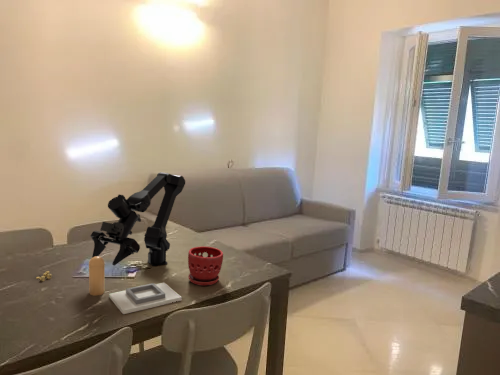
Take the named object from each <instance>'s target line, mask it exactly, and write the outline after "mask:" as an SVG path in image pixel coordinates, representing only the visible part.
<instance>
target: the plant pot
mask: <svg viewBox="0 0 500 375" xmlns="http://www.w3.org/2000/svg"><path fill="white" fill-rule="evenodd" d="M204 253H206V254H207V256H206V257H205V256H203V254H204ZM187 255H188V256H187V265H188V270H189V274H188V280H189V281H190V282H191V283H192V284H195V285H197V286H203V287H204V286H211V285H215V284H216V283H217V282H218V281H219V279H220V276H219V274H220V272H221V270H222V266H223V260H224V252H223V251H222V250H221V249H220V248H216V247H212V246H195V247H192V248H190V249H189V250H188V254H187Z"/></svg>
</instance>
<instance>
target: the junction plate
mask: <svg viewBox="0 0 500 375" xmlns="http://www.w3.org/2000/svg"><path fill="white" fill-rule="evenodd" d="M108 295H109V299H110V300H111V301H112V302H113V303H114V305H115V306H116V308H117V309H118V310H119V311H120V312H121V313H122V315H125V314H129V313H134V312H138V311H143V310H147V309H151V308H156V307H159V306H163V305H164V306H165V305H169V304H172V302H173V303H176V301H177V302H180V301H182V296H181V295H180V294H178V293H177V292H176V291H175V290H174V289H172V288H171V287H170V286H169V285H168V284H167V283H166V282H160V283H154V282H151V283H147V284H142V285H138V286H133V287H128V288H125V290H122V291H121V290H120V291H116V292H112V293H111V292H110V293H109V294H108Z"/></svg>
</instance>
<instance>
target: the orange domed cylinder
mask: <svg viewBox="0 0 500 375" xmlns="http://www.w3.org/2000/svg"><path fill="white" fill-rule="evenodd" d="M105 264H106V263H105V260H104V258H103V257H102V256H100V255H99V256H95V257H93V258H92V257H91V258H90V259H89V261H88V288H89V291H88V292H89V293H88V294H89V295H90V296H94V297H95V296H96V297H97V296H102V295H104V294H105V289H106V286H105V284H106V283H105V279H106V277H105V275H106V274H105V273H106V272H105V271H106V270H105V268H106V267H105Z"/></svg>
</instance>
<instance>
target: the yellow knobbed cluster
mask: <svg viewBox="0 0 500 375" xmlns="http://www.w3.org/2000/svg"><path fill="white" fill-rule="evenodd" d="M35 279H37V280H40V282H45V280H46V279H48V280H50V279H52V273H50V271H49V270H47V271H45V272H44V273H43V274H42V276H36V278H35Z"/></svg>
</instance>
